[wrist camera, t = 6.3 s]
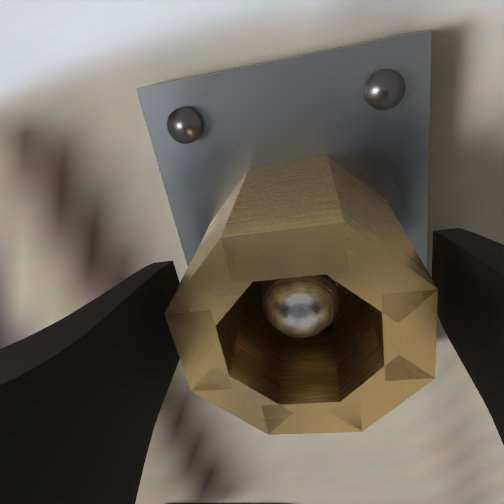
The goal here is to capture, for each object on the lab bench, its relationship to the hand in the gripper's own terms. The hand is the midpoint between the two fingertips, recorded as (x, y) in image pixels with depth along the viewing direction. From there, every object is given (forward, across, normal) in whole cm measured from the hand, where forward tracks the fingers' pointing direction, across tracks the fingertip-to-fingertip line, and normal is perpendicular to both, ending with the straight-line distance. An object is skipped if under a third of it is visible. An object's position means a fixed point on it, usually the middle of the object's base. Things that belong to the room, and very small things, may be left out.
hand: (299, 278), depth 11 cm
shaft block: (+3, 0, 0) cm, 3 cm away
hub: (+2, 0, 0) cm, 2 cm away
